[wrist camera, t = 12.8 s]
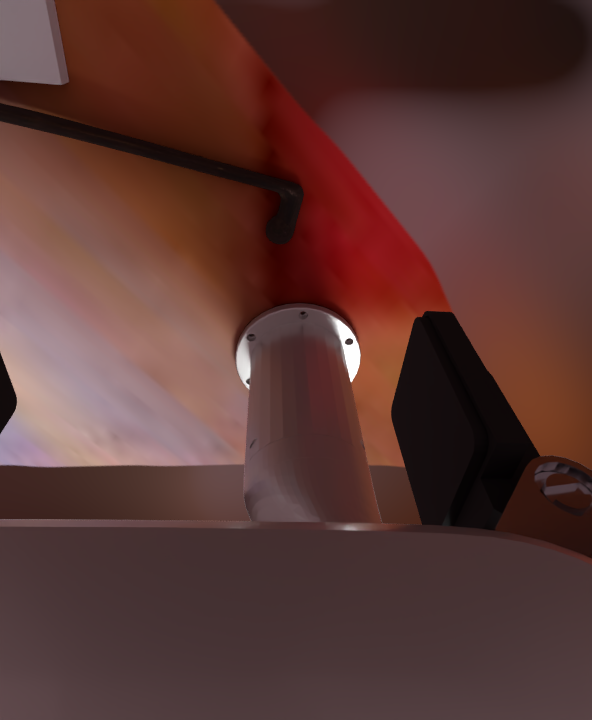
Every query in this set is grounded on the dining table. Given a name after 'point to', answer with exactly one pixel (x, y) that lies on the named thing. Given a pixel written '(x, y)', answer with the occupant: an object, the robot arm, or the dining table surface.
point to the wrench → (170, 162)
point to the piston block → (31, 42)
